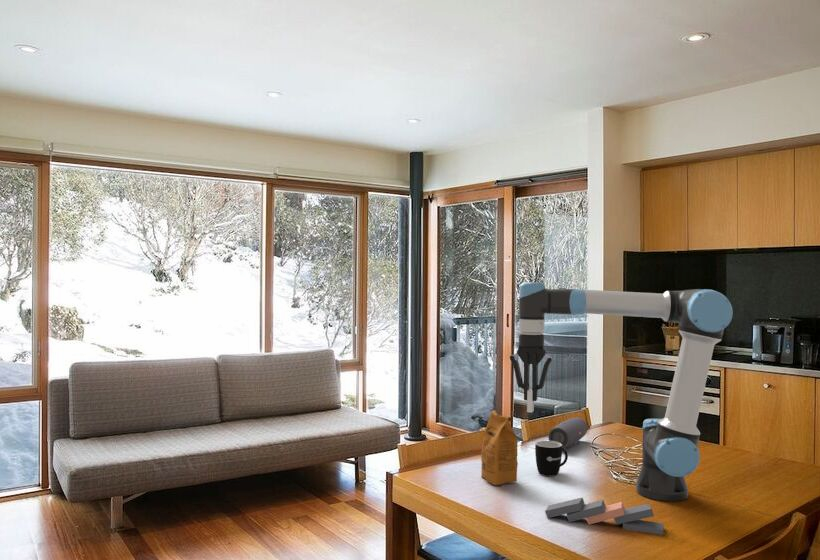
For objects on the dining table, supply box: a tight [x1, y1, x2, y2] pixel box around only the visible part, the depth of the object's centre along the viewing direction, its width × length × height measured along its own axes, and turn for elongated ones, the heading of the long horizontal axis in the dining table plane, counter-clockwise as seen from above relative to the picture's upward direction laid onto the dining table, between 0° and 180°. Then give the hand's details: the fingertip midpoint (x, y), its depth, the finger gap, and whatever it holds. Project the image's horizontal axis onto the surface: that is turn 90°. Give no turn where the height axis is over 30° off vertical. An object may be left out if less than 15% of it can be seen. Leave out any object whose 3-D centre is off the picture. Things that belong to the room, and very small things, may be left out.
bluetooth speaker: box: [548, 416, 589, 450], centre depth 256 cm, size 23×9×10 cm, turn 147°
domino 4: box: [613, 503, 655, 526], centre depth 174 cm, size 2×5×10 cm
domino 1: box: [544, 497, 586, 519], centre depth 179 cm, size 2×5×10 cm
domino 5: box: [622, 519, 665, 536], centre depth 172 cm, size 2×5×10 cm
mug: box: [534, 440, 569, 477], centre depth 220 cm, size 12×9×10 cm
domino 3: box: [585, 501, 626, 526], centre depth 175 cm, size 2×5×10 cm
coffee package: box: [480, 410, 519, 486], centre depth 212 cm, size 10×12×22 cm
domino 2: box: [565, 499, 607, 523], centre depth 177 cm, size 2×5×10 cm
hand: (530, 411), depth 194 cm, fingers closed
